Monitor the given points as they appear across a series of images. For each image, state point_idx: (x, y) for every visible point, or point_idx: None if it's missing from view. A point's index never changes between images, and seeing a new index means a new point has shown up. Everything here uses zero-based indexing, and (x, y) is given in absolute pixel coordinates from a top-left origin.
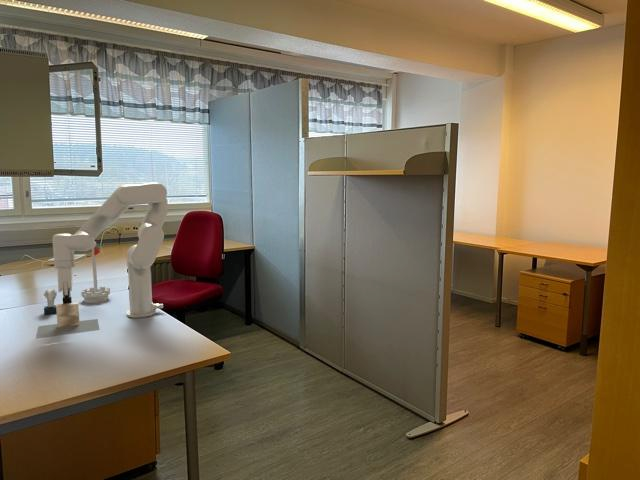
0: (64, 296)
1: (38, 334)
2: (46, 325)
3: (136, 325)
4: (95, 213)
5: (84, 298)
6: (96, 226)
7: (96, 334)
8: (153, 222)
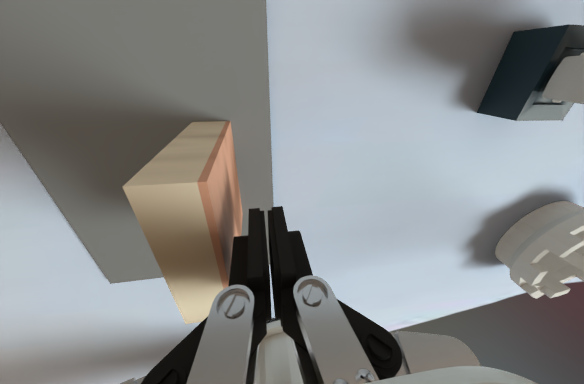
0: (184, 339)
1: None
2: (261, 50)
3: (165, 345)
4: None
5: (568, 211)
6: None
7: (61, 275)
8: None
